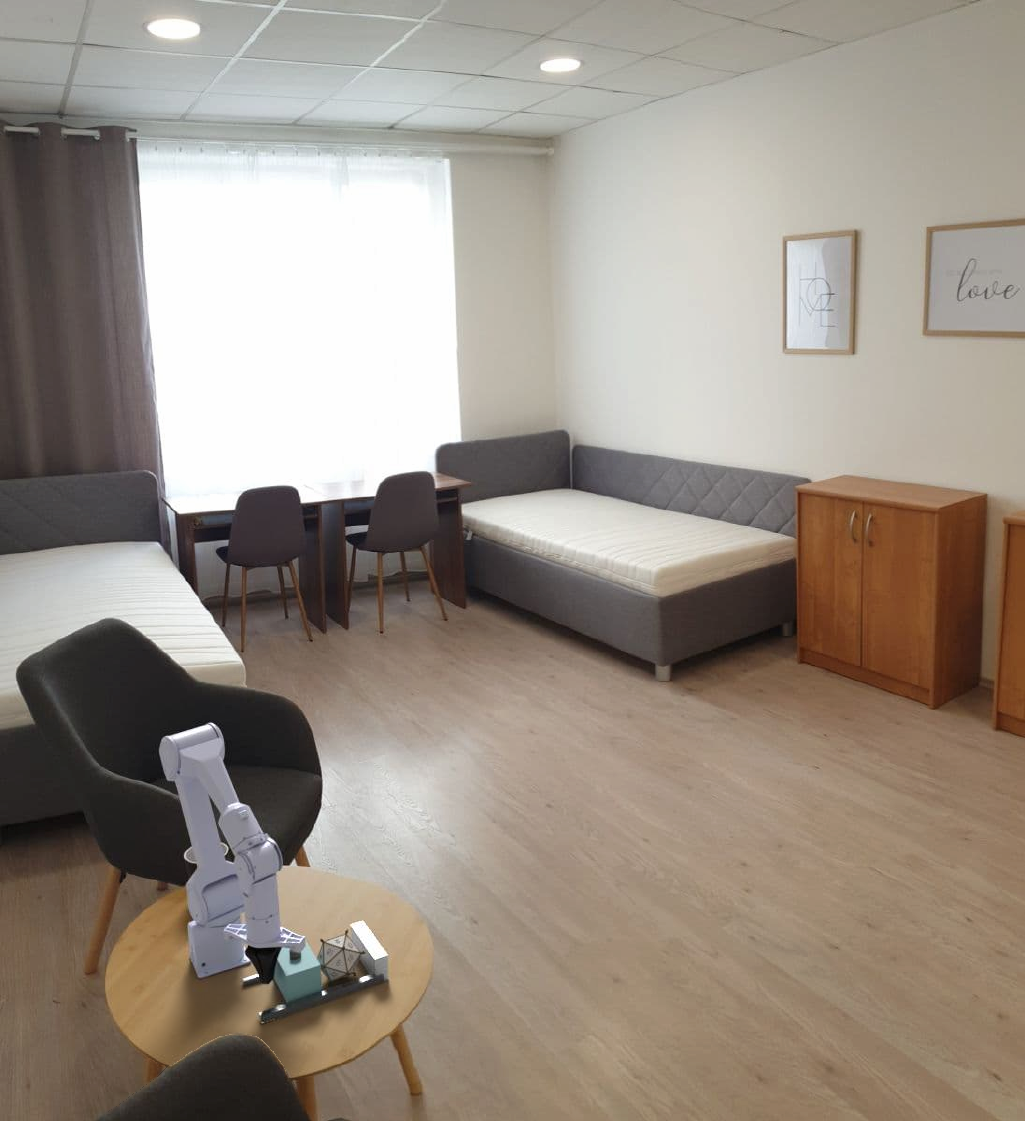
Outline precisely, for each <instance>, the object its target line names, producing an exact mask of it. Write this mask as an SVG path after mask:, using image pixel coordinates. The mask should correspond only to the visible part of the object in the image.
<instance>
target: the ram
mask: <svg viewBox="0 0 1025 1121" xmlns="http://www.w3.org/2000/svg"><path fill="white" fill-rule="evenodd" d="M305 945H306V946H305V948H304V949H303V950H302V951H301V953H298V952H295V949H289V948H283V947H282V949H281V951H280V954H279V956H278V959H277V963H276V967H275V972H274V978H273V979H274V981H275V983H276V985H277V987H278V989H279V991H280V993H281V995H282V996H283V998H284V1000H285V1002H286V1003H288V1002H291V1001H294V1000H297V999H300V998H303V997H306V996H309V995H312V994H315V993H318V992H321V991H323V986H322V985H323V984H322V970H321V966H320V963H319V962H318V960H317V957H316V954H315V953H314V952H313V950H312V948H311V947H310V945H309V944H308V941H307V940H306V939H305ZM286 1003H285V1004H286Z"/></svg>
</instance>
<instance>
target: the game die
mask: <svg viewBox="0 0 1025 1121" xmlns="http://www.w3.org/2000/svg"><path fill="white" fill-rule="evenodd" d="M348 933H349V929H348V928H347V929H346V930H345V933H344V934H341V935H337V936H336V937H332V938H327V939H326V940H324V939H323V938H319V940H320V942H321V943H322V944H321V946H320V948H319V949H320V950H319V951H318V954H317V957H316V958H317V960H318V962H319V963H320V966H321V973H323V974H324V975H325V977H326V978H327V980H328V981H329V982H328V987H329V988H331V986H332V985H333V984H332V982H335V981H337V980H340V979H343V978H346V977H348V978H350V977H351V976H352V975H353V977H358V976H357V973H356V972H355V971H356V968H357V965H358V964H359V961H360V959H359V958H360V956H361V954H362V955H363V954H365V953H366V952H364V951H362V952H360V950H359V949H358V948H357V947H356V945H355V944H354V943H353V942H352V939H351V937H350V936H349V935H348Z"/></svg>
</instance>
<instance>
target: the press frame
mask: <svg viewBox="0 0 1025 1121" xmlns="http://www.w3.org/2000/svg"><path fill="white" fill-rule="evenodd" d="M350 933H351V934H350V936H351V937H350V939H351V940H352V942H353V943H354V944H355V945H356V947H357V948H358V949H359V950H360V952H362V951H364V952H366V953H365V954H363V955H362V954H361V956H360V958H359V961H360V963H361V964H362V966H363V967H364V969H365V971H366V972H367V973H368V974H367V975H365V976H362V977H360V978H359V977H358V978H357V979H353V980H350V981H347V982H345V983H342V984H338V985H336V986H333V987H329V988H327V989H325V990H322V991H321V992H318V993H315V994H312V995H309V996H306V997H303V998H300V999H297V1000H294V1001H291V1002H288V1003H283V1004H280V1005H277V1006H275V1007H272V1008H269V1009H265V1010H263V1011H260V1012H258V1017H259V1019H260V1020H259V1022H260V1021H261V1022H267V1021H270V1020H273V1019H276V1020H278V1019H277V1018H279V1019H281V1018H280V1017H282V1018H284V1016H285V1017H287V1015H288V1016H291V1015H292V1014H296V1013H299V1012H302V1011H304V1010H307V1009H310V1008H313V1007H316V1006H319V1005H322V1004H324V1003H328V1002H330V1001H331V1002H332V1001H333V1000H336V999H338V998H342V997H345V996H347V995H350V994H354V993H356V992H359V991H361V990H366V989H368V988H371V987H374V986H376V985H380V984H382V983H385V982H386V981H388V980H390V979H389V964H388V963H389V961H388V960H389V959H388V954H387V952H386V951H385V950H384V948H383V947H382V946H381V944H380V943H379V941H378V940H377V939H376V937H375V936H374V934H373V933H372V931H371V929H369V927H368V926H367V925H366V923H365V922H364V921H363V920H362V921H361V920H360V921H358V922H355V923H352V924H350ZM241 981H242V986H243V987H246V986H249V985H253V984H256V983H258V981H259V982H261V980H260V978H259V975H258V973H256V974H253V975H249V976H247V977H244V978H242V979H241ZM273 1021H274V1020H273ZM270 1022H271V1021H270ZM267 1023H268V1022H267Z"/></svg>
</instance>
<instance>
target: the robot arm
mask: <svg viewBox="0 0 1025 1121" xmlns="http://www.w3.org/2000/svg"><path fill="white" fill-rule="evenodd" d="M225 747H226V746H225V741H224V736H223V734H222V731H221V729H220V728H219V726H218V725H216V724H215V723H213V722H208V723H206V724H205V725H201V726H198V727H194V728H192V729H187V730H185V731H182V732H178V733H174V734H171V735H166V736H164V737H162V738H161V741H160V744H159V748H158V753H159V757H160V761H161V766H162V769H163V773H164V775H165V777H166V780H167V781H168V782H174V783H175V786H176V789H177V793H178V797H179V800H180V805H181V809H182V812H183V816H184V820H185V825H186V828H187V832H188V836H189V839H190V843H191V847H192V848H193V852H194V855H195V859H196V863H197V869H196V871H195V872H194V874H193V875H192V877H191V878H190V879H189V878H188V881H187V882H186V884H185V889H186V895H187V899H186V900H187V902H186V903H187V909H188V911H189V914H190V916H191V917H192V919H193V920H192V921H189V922H187V936H188V946H189V958H190V962H191V963H192V965H193V968H194V970H195V972H196V975H197V978H198V979H203V978H206V977H210V976H212V975H216V974H219V973H221V972H225V971H228V970H230V969H234V968H238V967H241V966H244V965H246V964H247V965H248V964H250V963H251V964H252V965H253V967H254V968H255V970H256V972H257V973H256V974H258V975H259V978H260V980H261V981H260V983H261V984H264V985H269V984H270V983H271V982H272V981H273V979H274V972H275V967H276V963H277V959H278V956H279V954H280V951H281V949H282V947H283V948H289V949H295V952H298V953H301V951H302V950H303V949H304V948H305V946H306V945H305V940H306V936H304V935H300V934H297V933H295V932H293V931H290V930H289V929H286V928H285V927H282V926H281V915H280V914H281V913H280V901H279V890H278V886H279V884H278V876H277V875H278V874H277V873H278V872H280V871H282V869H283V865H284V862H283V855H282V852H281V850H280V848H279V845H278V844H277V842H276V841H275V840H274V839H273V838H271V837H270V836H269V834H268V833H264V832H263V830H262V828H261V827H260V824H259V823H258V820H257V818H256V817H255V815H254V813H253V811H252V809H251V807H250V806H249V805H247V804H244V803H241V802H240V800H239V798H238V795H237V793H236V790H235V789H234V786H233V783H232V780H231V778H230V776H229V773H228V770H227V769H226V766H225V763H224V759H225V753H226V752H225V751H226V750H225V749H226V748H225ZM211 800H212V802H213V803H214V805H215V806H216V809H218V811H219V813H220V816H219V819H218V826H219V828H220V829H221V832H222V833H223V836H224V838H225V839H226V842H227V843H228V846H229V848H231V852H232V854H233V855H234V860H233V862H232V861H229V860H228V861H226V860H225V857H224V853H223V849H222V845H221V843H222V841H221V838H220V835H219V831H218V826H217V824H216V819H215V815H214V811H213V808H212V803H211ZM226 876H227V877H226ZM221 878H222V879H221ZM219 879H220V880H219ZM214 881H215V882H214ZM243 913H244V919H245V920H244V922H245V923H244V924H243V922H242V921H243V920H242V914H243ZM245 944H246V945H247V947H246V946H245Z"/></svg>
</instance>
